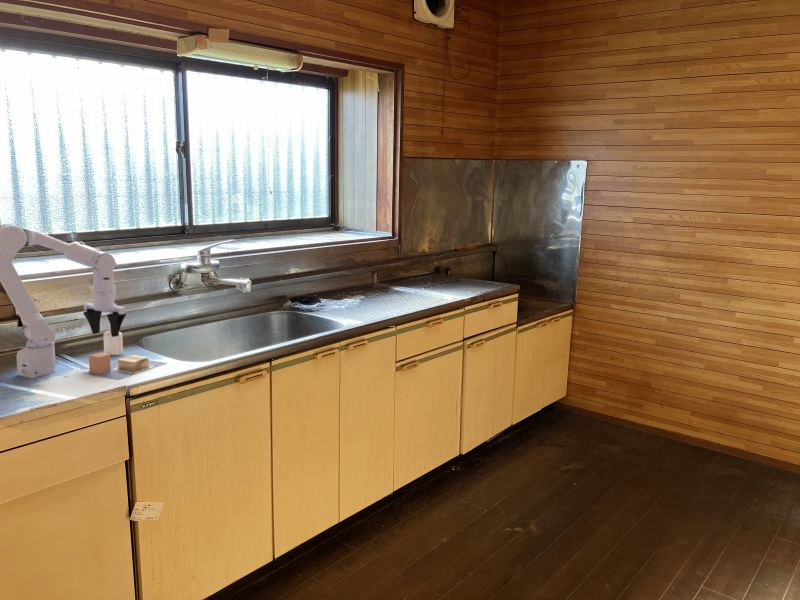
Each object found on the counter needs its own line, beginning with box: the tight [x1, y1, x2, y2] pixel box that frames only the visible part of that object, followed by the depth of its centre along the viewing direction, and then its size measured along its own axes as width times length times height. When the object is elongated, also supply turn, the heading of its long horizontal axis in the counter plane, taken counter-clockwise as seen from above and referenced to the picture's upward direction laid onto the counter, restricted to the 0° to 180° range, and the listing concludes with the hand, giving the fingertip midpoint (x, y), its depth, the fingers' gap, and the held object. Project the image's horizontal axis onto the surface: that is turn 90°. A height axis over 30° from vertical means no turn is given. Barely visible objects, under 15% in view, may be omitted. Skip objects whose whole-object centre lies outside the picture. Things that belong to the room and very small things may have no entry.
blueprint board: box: [81, 359, 168, 381], centre depth 193 cm, size 20×14×1 cm
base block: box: [117, 354, 150, 372], centre depth 193 cm, size 6×6×3 cm
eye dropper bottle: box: [103, 323, 124, 356], centre depth 208 cm, size 4×6×12 cm
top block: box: [88, 352, 111, 374], centre depth 188 cm, size 4×4×5 cm
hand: (105, 334), depth 197 cm, fingers open, 7 cm apart
